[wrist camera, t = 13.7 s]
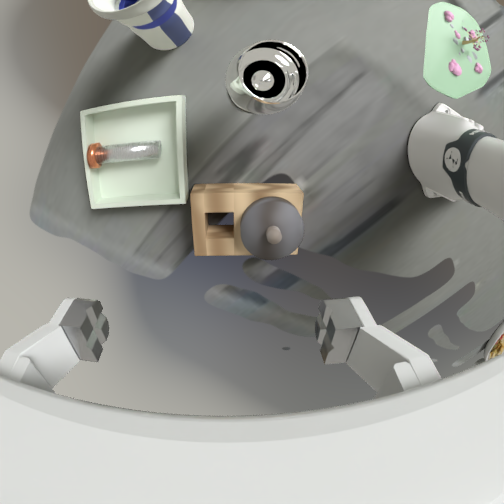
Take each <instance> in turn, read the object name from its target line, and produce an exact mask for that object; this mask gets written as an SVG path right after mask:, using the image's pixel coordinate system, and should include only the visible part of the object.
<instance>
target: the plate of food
mask: <svg viewBox="0 0 504 504" xmlns="http://www.w3.org/2000/svg"><path fill="white" fill-rule="evenodd" d="M503 353H504V321H503V322H502V323H501V324H500V325H499V326H498V328H497V329H496V330H495V332H494V333H493V334H492V336H491V338H490V339H489V341H488V343H487V345H486V347H485V351H484V358H485V361H487V360H489V359H491V358H494V357H496V356H498V355H500V354H503Z"/></svg>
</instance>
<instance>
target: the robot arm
mask: <svg viewBox="0 0 504 504" xmlns="http://www.w3.org/2000/svg"><path fill="white" fill-rule="evenodd" d="M445 111H446V113H445ZM408 159H409V163H410V167H411V169H412V171H413V173H414V175H415V176H416V178H417V179H418V180H419V181H420V183H421V184H422V188H423V191H424V194H425V196H426V197H429V198H435V197H442V196H443V197H445V198H446V199H448V200H450V201H453V202H455V201H456V200H462V199H464V200H465V201H467V202H468V203H470V204H472V205H475V206H477V207H483V208H484V209H486V210H488V211H489V212H491V213H492V214H494V215H495V216H497V217H498V218H500V219H501V220H503V221H504V141H503V140H500V139H497V138H496V137H495V136H494V135H492V134H490V133H488V132H486V131H483V126H482V125H480V124H478V123H475V122H474V121H473V120H471V119H467V118H465V117H462V116H461V115H459V114H458V113H456V112H455V111H454V110H452V109H451V108H449V107H448V106H446V105H445V104H442V103H438V104H436V106H435V107H434V108H433V110H432V111H431V112H430V113H429V114H427V115H425V116H423V117H422V118H420V119H419V120H418V121H417V123H416V124H415V125H414V127H413V129H412V131H411V134H410V137H409V142H408ZM102 309H103V307H102V305H101V303H100V301H98V300H91V299H79V298H77V299H76V298H65V299H64V300H63V302H62V303H61V305H60V306H59V308H58V309H57V311H56V312H55V314H54V316H53V317H52V319H51V320H50V322H49V324H44V325H43V326H41V327H40V328H38V329H37V330H36V331H34V332H32V333H31V334H29V335H28V336H26V337H25V338H23V339H22V340H20V341H19V342H17V343H16V344H14V345H13V346H12V347H10V348H9V349H7V350H6V351H5V353H4V355H3V356H2V358H1V360H0V504H504V353H503V354H500V355H498V356H496V357H494V358H491V359H489V360H487V361H485V362H483V363H481V364H478V365H476V366H474V367H471V368H470V369H467V370H464V371H462V372H459V373H457V374H455V375H452V376H449V377H446V378H444V379H441V377H440V375H439V373H438V372H437V369H436V368H435V366H434V364H433V362H432V361H431V359H430V357H429V356H428V354H426V353H424V352H423V351H421V350H420V349H418V348H416V347H415V346H413V345H412V344H410V343H409V342H407V341H405V340H403V339H402V338H401V337H399V336H397V335H396V334H394V333H393V332H391V331H389V330H388V329H386V328H385V327H383V326H381V325H377V324H376V323H375V321H374V319H373V317H372V315H371V314H370V312H369V310H368V308H367V307H366V305H365V303H364V301H363V300H362V298H361V297H348V298H339V299H324V300H321V301H320V303H319V308H318V309H319V311H320V314H319V315H318V316H317V317H316V322H315V335H316V339H317V342H318V343H320V344H321V345H322V347H321V350H320V352H321V355H322V358H323V361H324V364H325V365H326V364H336V363H345V362H346V364H347V365H348V366H349V367H350V368H352V369H353V370H354V371H355V372H356V373H357V374H358V375H359V376H360V377H361V378H362V379H364V381H366V382H367V383H368V384H369V385H370V386H371V387H372V388H373V389H374V390H375V391H377V394H376V396H375V397H374V398H373V399H372V400H367V401H362V402H358V403H353V404H348V405H342V406H336V407H330V408H324V409H317V410H309V411H302V412H292V413H281V414H268V415H249V416H199V415H180V414H166V413H156V412H147V411H139V410H132V409H125V408H119V407H112V406H107V405H102V404H97V403H92V402H87V401H83V400H78V399H74V398H70V397H66V396H63V395H59V394H56V393H55V392H54V391H53V390H52V388H53V387H54V386H55V385H56V384H57V383H58V382H59V381H60V380H61V379H62V378H63V377H64V376H65V375H66V374H67V373H68V372H69V371H70V370H71V369H72V368H73V367H74V366H75V365H77V364H78V363H79V362H80V360H85V361H93V362H98V361H99V358H100V355H101V353H102V350H103V348H102V345H101V344H103V343H104V342H105V341H106V340H107V337H108V334H109V325H108V321H107V318H106V317H105V316H104V315H103V314H102V313H101V312H102Z"/></svg>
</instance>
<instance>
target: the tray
mask: <svg viewBox="0 0 504 504" xmlns="http://www.w3.org/2000/svg"><path fill="white" fill-rule="evenodd" d="M80 117H81V133H82V145H83V155H84V164H85V171H86V179H87V185H88V191H89V197H90V203H91V209H99V208H113V207H128V206H145V205H166V204H186V202H187V200H188V198H189V187H188V167H187V138H186V96H184V95H175V96H165V97H156V98H148V99H141V100H134V101H127V102H122V103H116V104H111V105H105V106H101V107H96V108H91V109H87V110H83V111H80ZM153 140H160V141H161V146H162V153H161V158H160V159H146V160H134V161H123V162H113V163H104V164H102V166H101V167H100V168H94V169H91V168H90V167H89V165H88V162H87V150H88V147H89V145H90V144H92V143H100V144H101V145H102V146H105V145H113V144H121V143H130V142H141V141H153Z"/></svg>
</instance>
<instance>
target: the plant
mask: <svg viewBox="0 0 504 504" xmlns="http://www.w3.org/2000/svg"><path fill="white" fill-rule="evenodd" d="M482 31H484V30H483V28H482ZM484 32H485V31H484ZM487 37H488V38H489V36H488V35H487ZM487 41H488V40H487ZM487 41H486V40H485V39H484V37H483V34H482V32H481V30H480V28H479V26H478V24H477V22H476V21H475V20H474V19H473V17H472V16H470V15H469V14H468V13H467V12H466V11H465V10H463V9H462V8H460V7H457V6H454V5H452V4H449V3H445V2H439V3H436V4H434V5H432V6H431V7H430V9H429V15H428V24H427V32H426V46H425V60H424V74H423V77H424V79H425V80H426V82H427V83H428V85H429V86H430V87H432V88H433V89H435V90H436V91H438V92H440V93H442V94H444V95H446V96H449V97H451V98H454V99H457V98H460V97H462V96H464V95H466V94H468V93H470V92H472V91H474V90H476V89H478V88H481V87H483V86H484V85H485V83H486V81H487V80H488V78H489V76H490V73H491V65H490V60H489V55H488V51H487V46H486V43H487Z"/></svg>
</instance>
